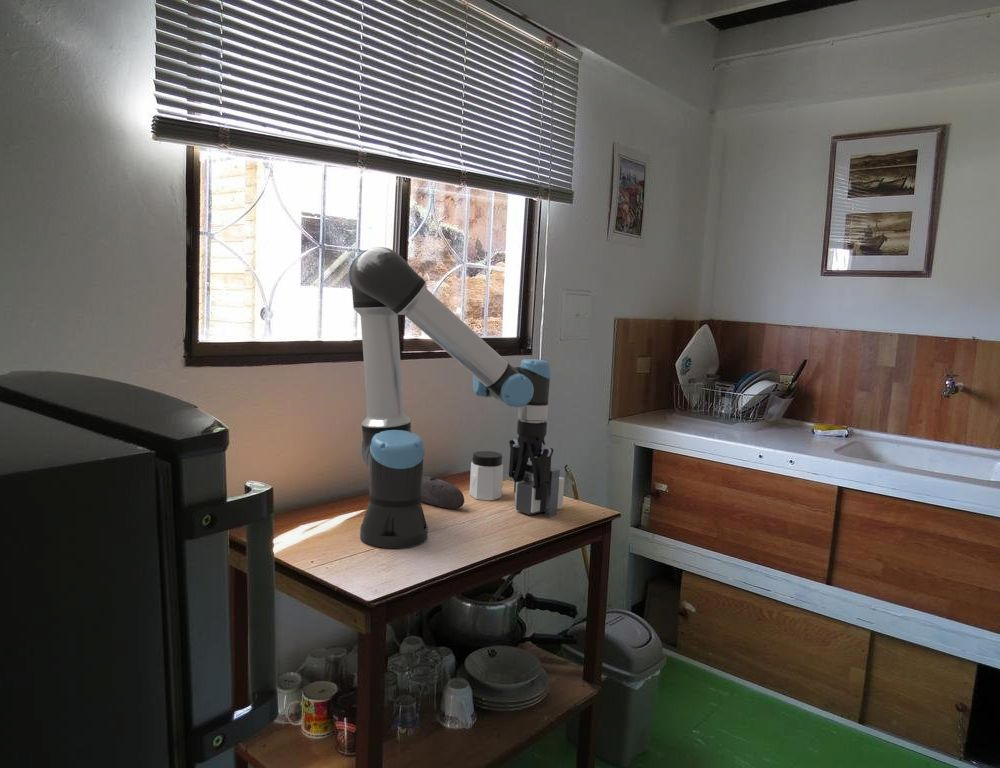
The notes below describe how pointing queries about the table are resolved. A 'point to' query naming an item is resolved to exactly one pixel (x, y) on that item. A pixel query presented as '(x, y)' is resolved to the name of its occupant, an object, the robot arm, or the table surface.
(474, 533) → the table surface
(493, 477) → the jar
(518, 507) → the plug
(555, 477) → the frame
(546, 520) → the table surface
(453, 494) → the perforated stone tool
